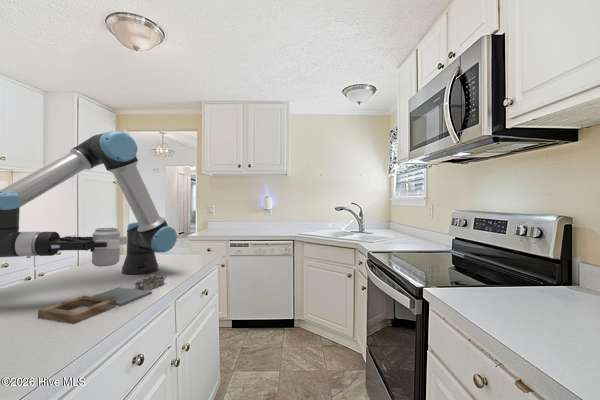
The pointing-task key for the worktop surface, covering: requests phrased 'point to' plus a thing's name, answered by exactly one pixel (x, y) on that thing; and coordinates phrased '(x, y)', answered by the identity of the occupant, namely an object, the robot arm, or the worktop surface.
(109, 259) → the can
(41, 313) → the frame
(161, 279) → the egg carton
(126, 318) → the worktop surface
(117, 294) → the mat
